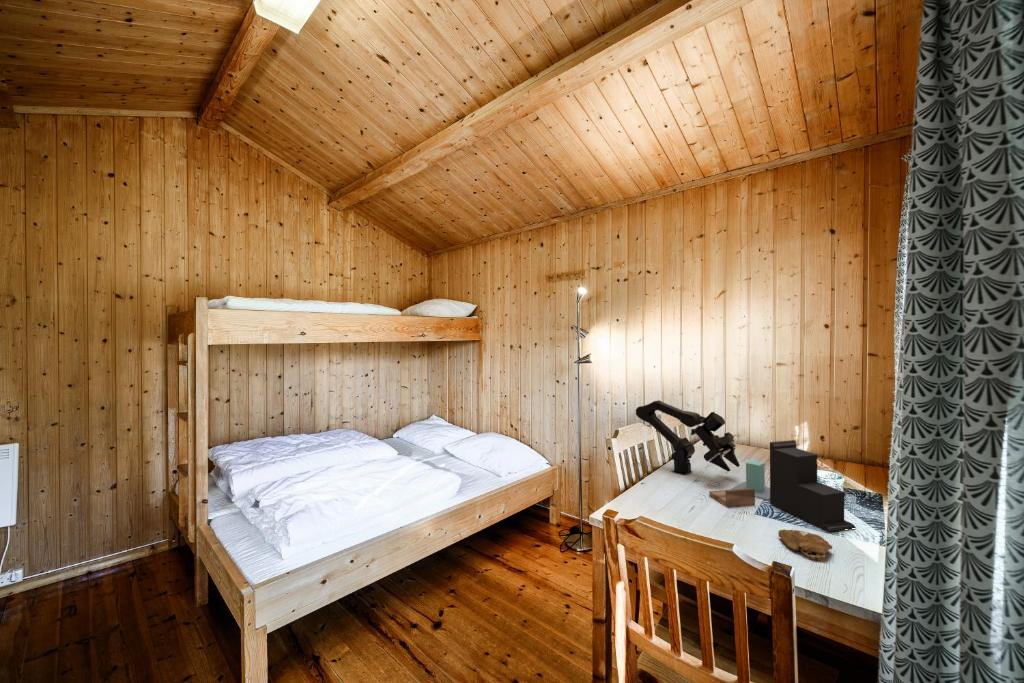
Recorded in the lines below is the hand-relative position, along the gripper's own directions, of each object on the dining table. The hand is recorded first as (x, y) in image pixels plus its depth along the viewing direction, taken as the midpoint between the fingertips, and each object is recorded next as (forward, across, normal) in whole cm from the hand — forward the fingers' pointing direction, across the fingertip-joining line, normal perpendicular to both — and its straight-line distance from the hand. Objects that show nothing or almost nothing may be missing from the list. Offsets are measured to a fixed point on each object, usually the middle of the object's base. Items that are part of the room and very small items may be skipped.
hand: (734, 468), depth 173 cm
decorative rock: (+31, -37, -20) cm, 52 cm away
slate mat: (+11, 0, -1) cm, 11 cm away
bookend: (+26, -11, -16) cm, 32 cm away
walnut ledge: (+9, -17, +1) cm, 19 cm away
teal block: (+10, 0, -1) cm, 11 cm away
